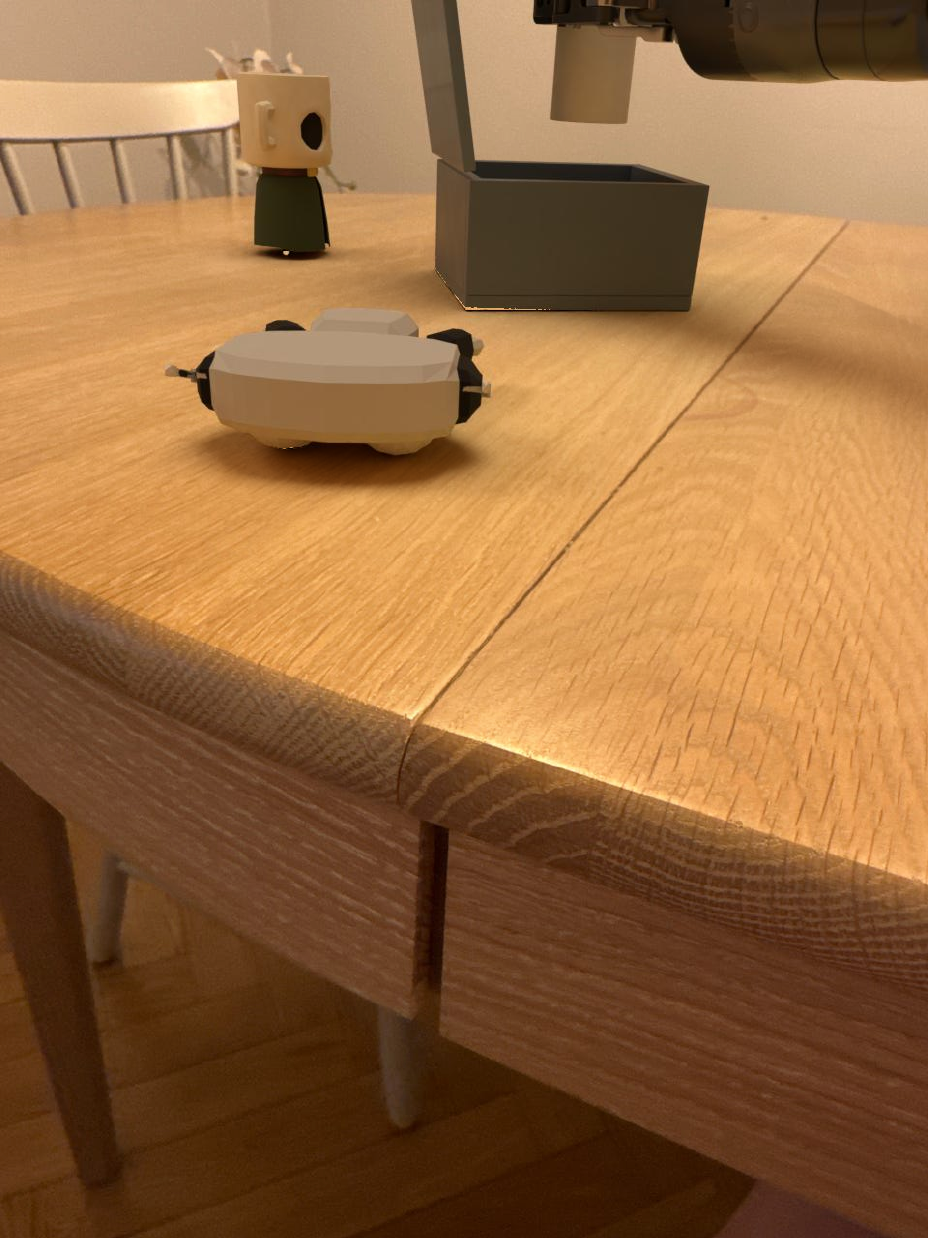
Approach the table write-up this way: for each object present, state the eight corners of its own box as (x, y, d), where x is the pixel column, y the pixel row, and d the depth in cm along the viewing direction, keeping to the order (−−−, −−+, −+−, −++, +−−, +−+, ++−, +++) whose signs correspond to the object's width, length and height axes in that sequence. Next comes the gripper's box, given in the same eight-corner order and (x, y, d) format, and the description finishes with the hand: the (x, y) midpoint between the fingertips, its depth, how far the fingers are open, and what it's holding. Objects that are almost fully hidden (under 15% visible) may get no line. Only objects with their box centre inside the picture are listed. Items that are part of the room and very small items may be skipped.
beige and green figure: (311, 267, 73) (302, 75, 67) (225, 260, 75) (209, 71, 68) (352, 245, 83) (349, 75, 76) (276, 239, 84) (266, 71, 77)
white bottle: (613, 120, 66) (636, -102, 60) (637, 124, 62) (665, -115, 55) (541, 117, 65) (557, -109, 59) (561, 121, 61) (581, -122, 54)
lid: (404, -132, 61) (392, -131, 61) (436, -177, 50) (421, -175, 49) (442, 150, 70) (431, 152, 70) (476, 170, 58) (464, 172, 58)
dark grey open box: (626, 271, 77) (639, 163, 73) (690, 310, 65) (710, 185, 61) (434, 270, 75) (436, 158, 70) (465, 310, 63) (469, 179, 59)
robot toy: (258, 385, 49) (166, 472, 36) (253, 295, 47) (154, 351, 34) (490, 397, 49) (485, 488, 36) (495, 307, 47) (491, 368, 34)
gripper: (878, -70, 52) (654, -52, 64) (707, -104, 45) (488, -76, 56) (845, 85, 56) (639, 76, 67) (683, 78, 48) (482, 69, 60)
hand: (571, 7), depth 62 cm, fingers closed on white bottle, 5 cm apart
